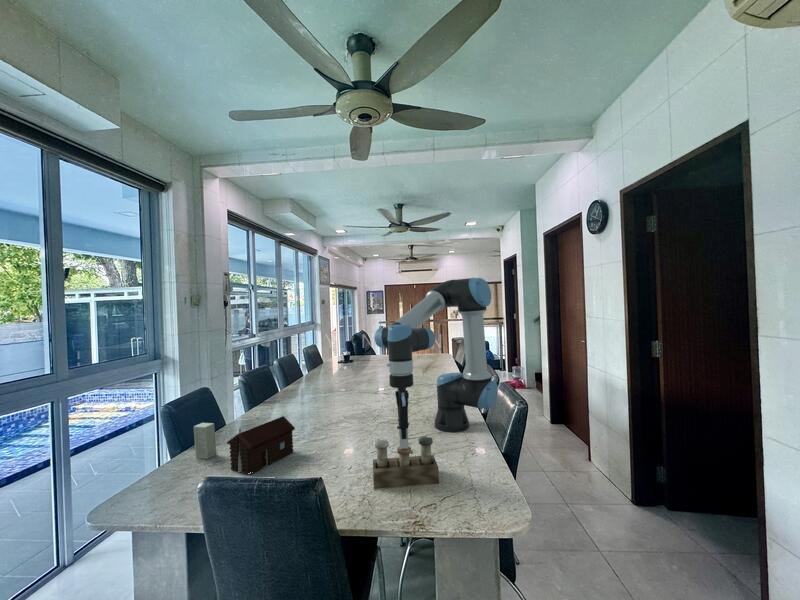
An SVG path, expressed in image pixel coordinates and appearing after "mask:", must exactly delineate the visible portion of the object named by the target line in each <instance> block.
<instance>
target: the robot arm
mask: <svg viewBox="0 0 800 600" xmlns="http://www.w3.org/2000/svg"><path fill="white" fill-rule="evenodd" d="M491 303H492V291H491V288H490V285H489V284H488V283H487V281H486V280H485V279H484V278H482V277H481V278H480V277H471V278H459V279H458V278H457V279H450V280H449V279H448V280H446V281H443V282H441V283H440V284H438V285H437V286H435V287H433V288H432V289H430V290H429V291H428V292H427V293H426V295H425V297H424V298H423V299H422V300H420V301H419V302H417V304H415V305H414V306H413V307H412V308H410V309H409V310H407V312H405V313H404V314H403V315H402V316H401V317H399V318H398V319H397V320H396V321H394V322H392V324H390V325H389V326H387V327H386V326H384V327H379V328H377V330H376V331H375V332H374V337H373V338H374V343H375V344H376V346H377V347H378V348H381V349H386V350H387V349H388V350H387V351H388V363H387V364H386V367H388V369H389V370H388V371H389V373H390V374H389V376H388V377H389V378H388V379H389V386H390V387H391V388H393V389H396V388H397V390H395V399H396V405H397V418H398V419H397V422H398V426H397V427H396V428H397V430H398V435H399V436H398V437H399V439H398V440H399V441H398V442H399V447H400V449H407V448H409V447H410V446H409V430H408V429H409V425H410V422H409V409H408V408H409V398H410V396H409V395H410V394H409V391H408V390H407V388H410V387H413V385H414V374H413V372H414V368H413V367H414V363H413V353H414V352H421V351H426V350H428V349H431V348H432V347H434V345H435V343H436V334H435V332H434V331H433V330H432V329H431V328H429V327H421V326H422V325H424V324H425V323H426V322H427V321H428V320H429V319H430V318H431V317H433V316H434V315H435V314H436V313H437V312H442V311H443V310H444V309H447V308H453V307H454V308H456V307H457V312H458V314H460V315H461V316H462V319H461V320H462V330H463V331H462V332H463V343H464V344H463V347H464V359H465V371H466V372H465V373H463V372H450V373H443V374H440V375H439V376H437V379H436V396H437V411H436V413H435V414H436V415H435V417H434V428H435V429H436V430H439V431H442V432H448V433H457V432H459V433H460V432H463V431H466V430H469V428H470V421H469V418H468V415H467V412H466V409H465V406H466V407H471V408H475V409H476V408H477V409H481V410H482V409H483V410H489V409H491V408H493V406H494V405H495V403H496V401H497V398H498V395H499V393H498V392H499V386H498V383H497V381H494V380H492V374H491V373H490V372H489V371H488V364H487V363H488V362H487V352H486V351H487V349H486V338H485V336H486V335H485V325H484V324H485V323H484V320H485V319H484V314H485V312H486V311H487V310H488V309H487V307H489V306H490V305H491ZM408 446H409V447H408Z"/></svg>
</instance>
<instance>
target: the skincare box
mask: <svg viewBox="0 0 800 600" xmlns="http://www.w3.org/2000/svg"><path fill="white" fill-rule="evenodd" d="M215 428H216V427H215V423H213V422H200V423H198V424H196V425H194V426H193V437H194V438H193V439H194V451H195V454H194V455H195V458H196V459H205V460H208V459H210V458H212V457H214V456H216V455H217V444H216V432H215V431H216V430H215Z"/></svg>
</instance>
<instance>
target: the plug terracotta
mask: <svg viewBox="0 0 800 600" xmlns="http://www.w3.org/2000/svg"><path fill="white" fill-rule="evenodd" d="M408 447H409V448H407V449H400V446H399V447H397V449H396V452H397V454H398V455H399V457H398V458H399V460H400V467H404V466H410V458H409V457H410V454H411V453H412V448H411V446H409V445H408Z"/></svg>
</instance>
